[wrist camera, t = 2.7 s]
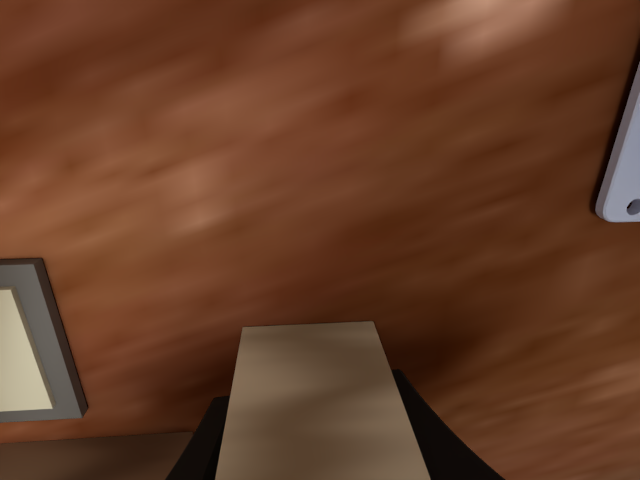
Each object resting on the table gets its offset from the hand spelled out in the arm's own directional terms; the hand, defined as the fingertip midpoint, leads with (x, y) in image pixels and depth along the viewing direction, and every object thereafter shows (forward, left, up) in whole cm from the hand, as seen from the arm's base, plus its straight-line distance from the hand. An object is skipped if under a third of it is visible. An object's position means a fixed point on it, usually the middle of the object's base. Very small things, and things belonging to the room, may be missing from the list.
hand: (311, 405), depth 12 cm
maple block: (0, 0, -1) cm, 1 cm away
